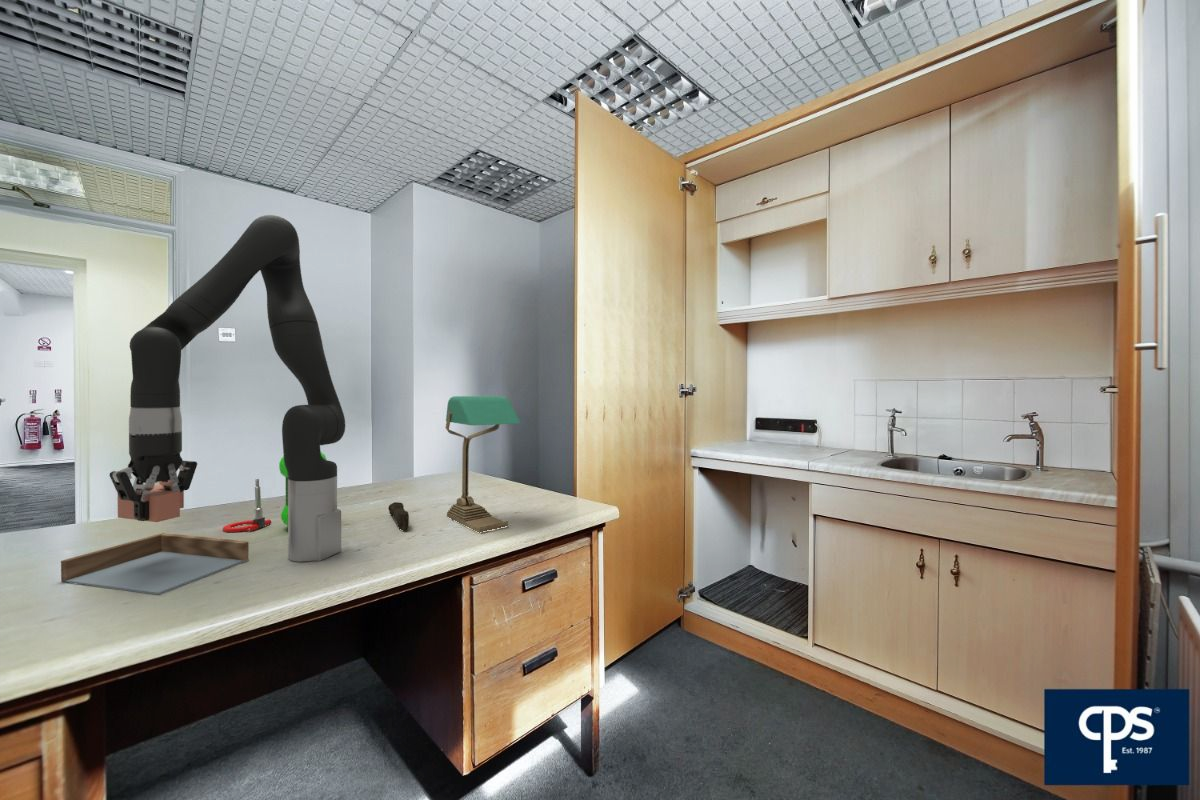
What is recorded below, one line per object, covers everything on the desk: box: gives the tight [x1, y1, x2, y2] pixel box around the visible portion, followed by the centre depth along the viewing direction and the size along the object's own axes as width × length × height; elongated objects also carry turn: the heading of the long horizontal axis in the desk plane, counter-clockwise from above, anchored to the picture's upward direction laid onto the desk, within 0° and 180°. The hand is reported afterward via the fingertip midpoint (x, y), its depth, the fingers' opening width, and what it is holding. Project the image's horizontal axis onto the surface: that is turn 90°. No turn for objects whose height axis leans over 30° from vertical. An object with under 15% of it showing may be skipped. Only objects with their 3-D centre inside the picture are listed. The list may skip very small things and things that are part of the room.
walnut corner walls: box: [60, 532, 250, 583], centre depth 93 cm, size 23×17×4 cm
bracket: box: [117, 484, 185, 523], centre depth 94 cm, size 9×10×5 cm
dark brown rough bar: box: [388, 501, 410, 532], centre depth 127 cm, size 19×4×5 cm, turn 28°
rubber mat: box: [60, 551, 249, 596], centre depth 93 cm, size 23×17×1 cm
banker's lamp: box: [445, 395, 522, 534], centre depth 128 cm, size 16×21×35 cm
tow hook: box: [222, 478, 272, 533], centre depth 121 cm, size 8×13×9 cm
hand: (156, 516), depth 91 cm, fingers closed on bracket, 4 cm apart
